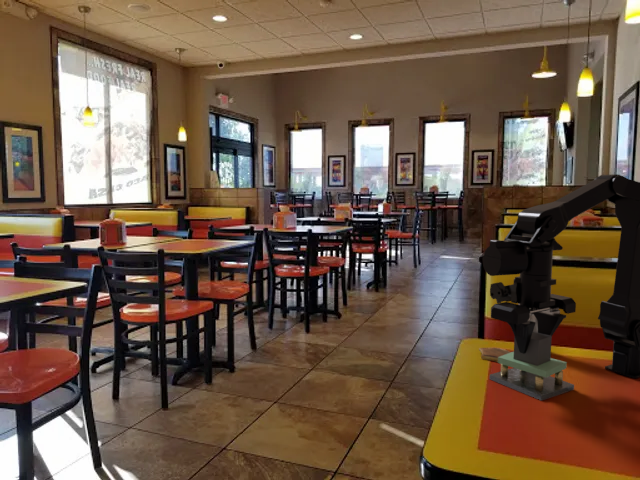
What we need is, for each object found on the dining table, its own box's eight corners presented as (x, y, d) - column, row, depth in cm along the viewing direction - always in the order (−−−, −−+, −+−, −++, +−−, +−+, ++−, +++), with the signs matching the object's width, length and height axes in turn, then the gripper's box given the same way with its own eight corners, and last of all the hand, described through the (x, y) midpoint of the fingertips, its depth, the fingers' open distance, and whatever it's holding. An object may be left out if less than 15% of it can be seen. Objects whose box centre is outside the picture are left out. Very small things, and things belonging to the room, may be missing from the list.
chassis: (521, 370, 106) (522, 354, 106) (573, 389, 96) (574, 372, 96) (489, 379, 101) (490, 362, 101) (541, 400, 91) (542, 382, 91)
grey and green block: (518, 354, 105) (520, 326, 104) (566, 368, 97) (568, 337, 96) (497, 362, 100) (499, 333, 99) (546, 377, 92) (547, 345, 91)
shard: (526, 371, 107) (526, 363, 107) (491, 371, 107) (491, 363, 107) (506, 354, 118) (506, 347, 118) (474, 354, 118) (474, 347, 118)
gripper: (530, 264, 108) (527, 333, 110) (470, 271, 99) (468, 347, 100) (579, 271, 98) (575, 347, 100) (517, 280, 89) (514, 363, 91)
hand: (532, 350), depth 98 cm, fingers open, 5 cm apart
